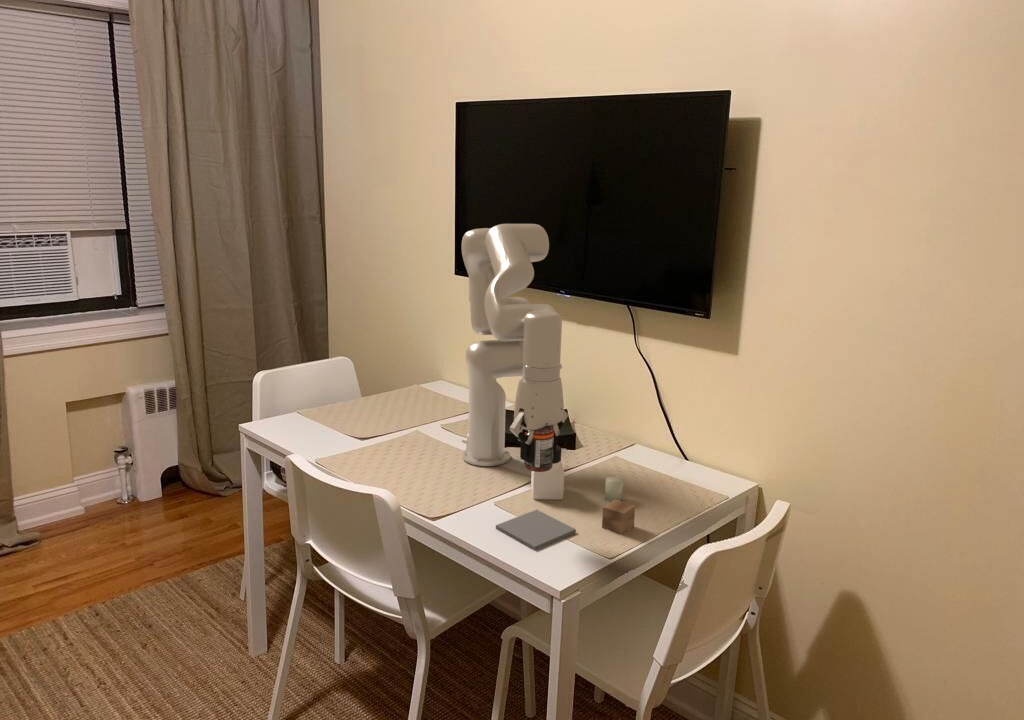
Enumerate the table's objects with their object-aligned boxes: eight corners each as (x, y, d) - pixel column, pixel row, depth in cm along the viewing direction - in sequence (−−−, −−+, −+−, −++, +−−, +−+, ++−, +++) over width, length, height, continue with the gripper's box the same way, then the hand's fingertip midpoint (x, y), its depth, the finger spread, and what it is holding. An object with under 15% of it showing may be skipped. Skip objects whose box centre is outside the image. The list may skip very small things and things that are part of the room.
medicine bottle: (560, 487, 182) (562, 440, 179) (563, 500, 175) (565, 451, 172) (530, 487, 182) (532, 440, 179) (532, 499, 175) (534, 451, 172)
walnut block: (601, 528, 162) (603, 506, 161) (613, 520, 166) (615, 499, 165) (622, 535, 160) (623, 513, 158) (633, 527, 163) (635, 505, 162)
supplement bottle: (519, 463, 158) (521, 412, 156) (545, 460, 160) (547, 410, 158) (530, 474, 153) (532, 421, 150) (557, 471, 155) (559, 419, 152)
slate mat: (495, 528, 161) (495, 525, 161) (536, 512, 169) (536, 509, 168) (534, 550, 152) (534, 546, 152) (575, 532, 160) (575, 529, 160)
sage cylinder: (601, 498, 177) (602, 478, 175) (612, 494, 179) (613, 474, 178) (614, 504, 174) (615, 484, 173) (625, 499, 176) (626, 480, 175)
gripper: (558, 362, 160) (555, 442, 164) (496, 375, 149) (494, 461, 153) (584, 369, 155) (580, 452, 159) (522, 383, 143) (519, 472, 148)
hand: (538, 455), depth 156 cm, fingers closed on supplement bottle, 6 cm apart
